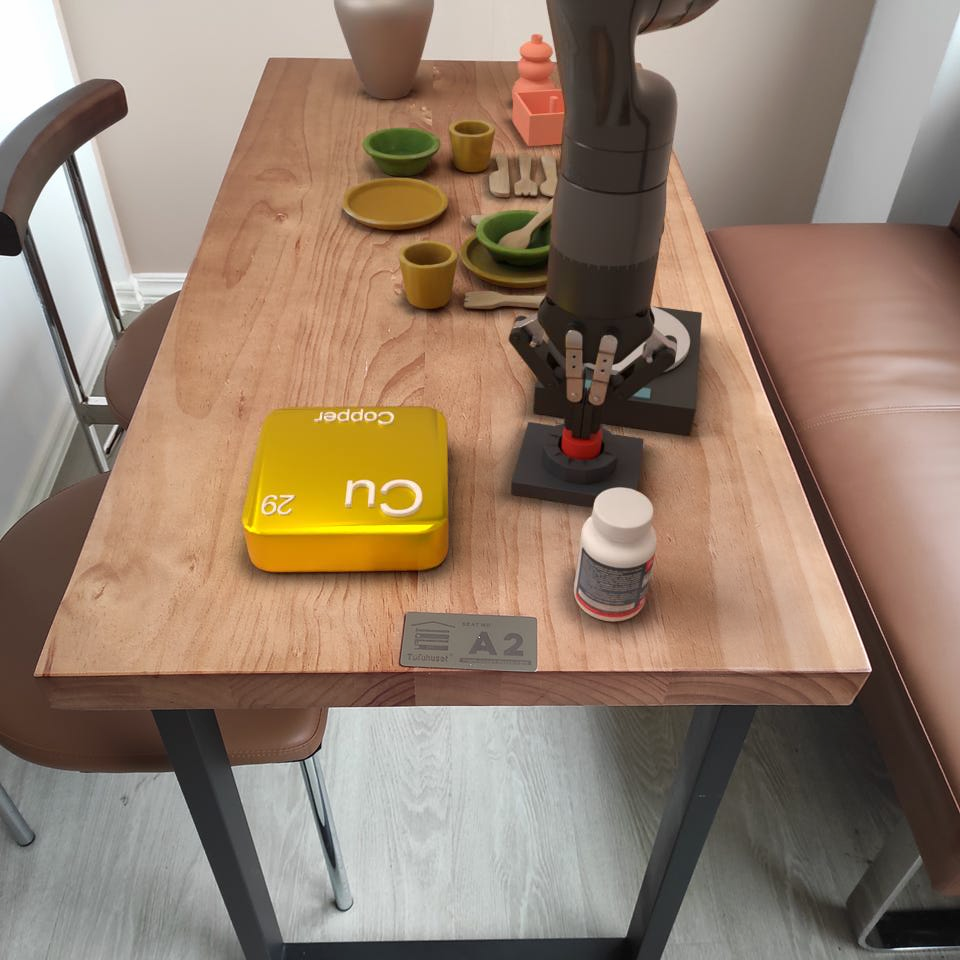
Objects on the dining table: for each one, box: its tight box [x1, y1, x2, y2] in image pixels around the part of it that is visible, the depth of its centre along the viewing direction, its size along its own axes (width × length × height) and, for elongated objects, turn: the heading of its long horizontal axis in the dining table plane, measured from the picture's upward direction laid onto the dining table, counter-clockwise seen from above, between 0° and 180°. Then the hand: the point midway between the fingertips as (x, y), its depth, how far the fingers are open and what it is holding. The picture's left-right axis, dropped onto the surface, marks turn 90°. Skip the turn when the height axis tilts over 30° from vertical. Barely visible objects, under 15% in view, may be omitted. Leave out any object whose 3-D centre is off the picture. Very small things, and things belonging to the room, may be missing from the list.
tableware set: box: [340, 118, 558, 310], centre depth 108 cm, size 41×28×6 cm
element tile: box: [241, 405, 449, 573], centre depth 73 cm, size 15×15×5 cm
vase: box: [333, 0, 435, 100], centre depth 134 cm, size 14×14×25 cm
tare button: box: [561, 427, 603, 460], centre depth 75 cm, size 3×3×2 cm
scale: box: [532, 305, 703, 437], centre depth 87 cm, size 14×16×4 cm
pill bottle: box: [573, 487, 658, 622], centre depth 65 cm, size 5×5×9 cm
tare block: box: [510, 421, 645, 508], centre depth 77 cm, size 10×8×3 cm
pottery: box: [511, 33, 564, 147], centre depth 132 cm, size 18×10×10 cm, turn 13°
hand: (582, 432), depth 75 cm, fingers closed
